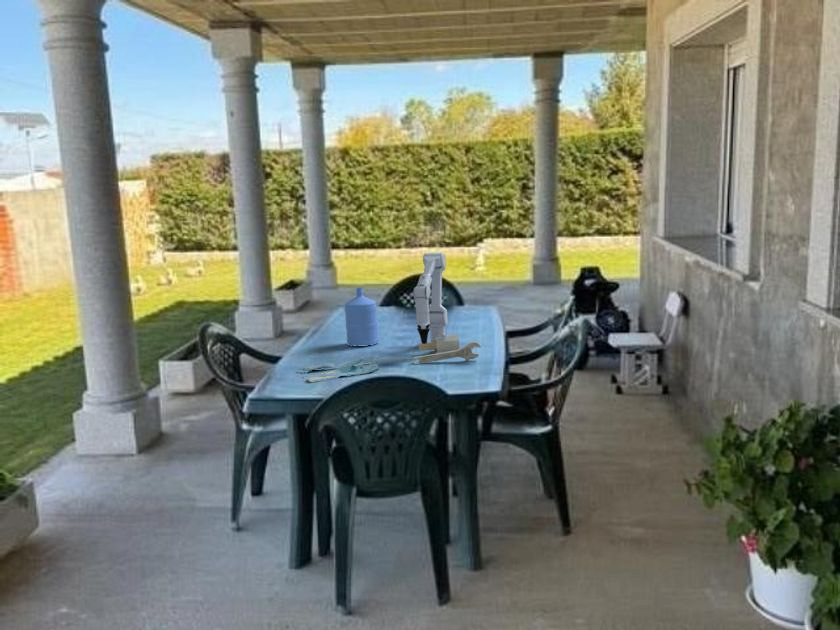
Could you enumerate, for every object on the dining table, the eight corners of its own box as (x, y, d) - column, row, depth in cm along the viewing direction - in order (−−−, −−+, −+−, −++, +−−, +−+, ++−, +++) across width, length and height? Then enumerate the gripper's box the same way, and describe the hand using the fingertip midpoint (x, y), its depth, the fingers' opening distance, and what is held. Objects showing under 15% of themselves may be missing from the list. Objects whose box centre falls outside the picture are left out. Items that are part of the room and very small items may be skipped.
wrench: (414, 369, 334) (482, 358, 333) (414, 370, 332) (482, 359, 331) (411, 352, 332) (479, 340, 331) (411, 353, 331) (479, 341, 330)
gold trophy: (419, 352, 353) (418, 338, 352) (449, 350, 353) (449, 336, 352) (419, 355, 347) (418, 341, 346) (450, 353, 346) (449, 339, 345)
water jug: (374, 347, 370) (370, 290, 366) (343, 347, 374) (339, 290, 369) (382, 340, 386) (378, 285, 381) (352, 341, 389) (348, 286, 384)
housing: (436, 350, 357) (435, 335, 355) (458, 348, 357) (457, 334, 355) (437, 356, 343) (436, 341, 342) (459, 355, 343) (458, 340, 342)
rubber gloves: (292, 371, 334) (291, 356, 333) (363, 360, 346) (362, 346, 345) (309, 384, 309) (308, 369, 308) (385, 372, 321) (384, 357, 320)
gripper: (413, 310, 354) (415, 339, 356) (413, 315, 339) (415, 345, 342) (429, 309, 354) (430, 338, 356) (429, 314, 339) (431, 344, 342)
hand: (424, 341), depth 349 cm, fingers open, 7 cm apart
